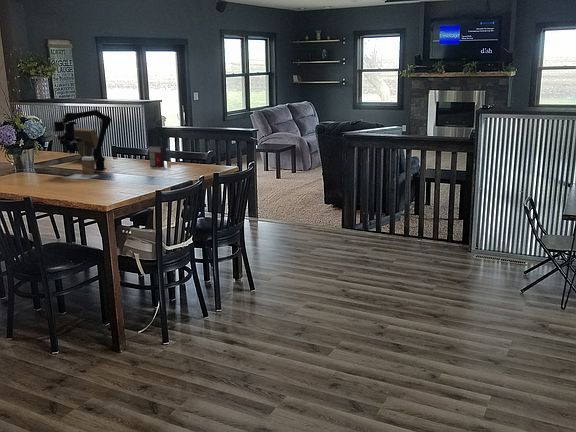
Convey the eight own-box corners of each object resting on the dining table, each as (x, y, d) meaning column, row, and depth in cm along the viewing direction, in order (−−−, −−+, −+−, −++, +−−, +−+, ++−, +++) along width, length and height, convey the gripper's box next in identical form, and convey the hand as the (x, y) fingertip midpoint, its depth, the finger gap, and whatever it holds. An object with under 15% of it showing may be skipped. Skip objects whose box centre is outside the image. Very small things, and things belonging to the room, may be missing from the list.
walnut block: (86, 173, 405) (84, 156, 402) (95, 174, 404) (93, 156, 401) (82, 174, 401) (81, 157, 398) (92, 175, 400) (90, 157, 397)
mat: (75, 174, 402) (75, 174, 402) (99, 175, 398) (99, 174, 398) (61, 178, 386) (61, 178, 386) (86, 179, 383) (86, 179, 383)
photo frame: (85, 157, 482) (82, 127, 476) (103, 159, 470) (100, 128, 464) (70, 160, 469) (67, 128, 463) (88, 162, 458) (85, 130, 452)
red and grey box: (149, 166, 436) (148, 146, 432) (152, 165, 439) (151, 145, 436) (161, 167, 431) (160, 147, 428) (164, 166, 435) (163, 146, 431)
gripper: (67, 129, 418) (69, 151, 422) (51, 132, 400) (54, 154, 404) (81, 129, 416) (83, 151, 420) (66, 132, 398) (68, 155, 402)
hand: (72, 153), depth 411 cm, fingers open, 3 cm apart
